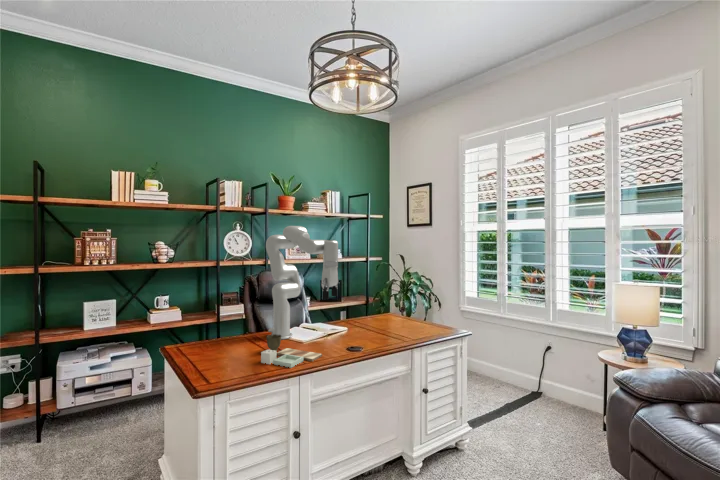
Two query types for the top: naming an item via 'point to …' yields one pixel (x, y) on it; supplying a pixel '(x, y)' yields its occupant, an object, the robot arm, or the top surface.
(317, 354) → the track
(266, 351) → the block
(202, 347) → the top surface
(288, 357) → the tray
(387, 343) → the top surface
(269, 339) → the dark bronze flared dome
